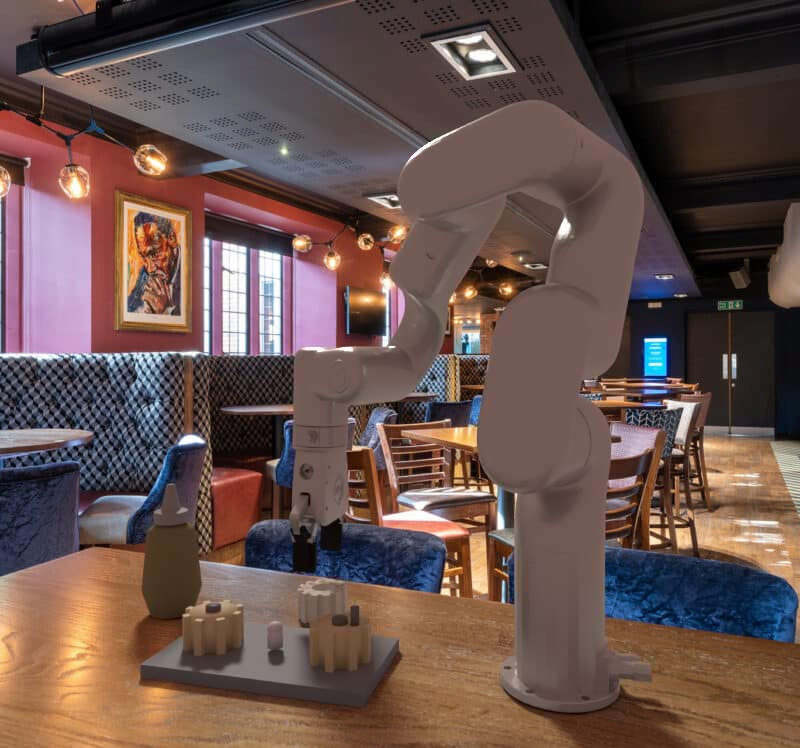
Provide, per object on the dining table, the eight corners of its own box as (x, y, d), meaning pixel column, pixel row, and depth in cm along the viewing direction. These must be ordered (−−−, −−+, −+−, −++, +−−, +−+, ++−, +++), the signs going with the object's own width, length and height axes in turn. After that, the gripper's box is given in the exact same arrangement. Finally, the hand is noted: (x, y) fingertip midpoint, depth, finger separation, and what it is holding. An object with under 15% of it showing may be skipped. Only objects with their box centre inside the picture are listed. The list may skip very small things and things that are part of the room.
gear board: (399, 650, 82) (398, 588, 81) (362, 708, 68) (362, 634, 68) (207, 629, 88) (207, 572, 88) (140, 677, 75) (139, 610, 75)
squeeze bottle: (183, 625, 90) (182, 491, 89) (129, 621, 91) (127, 489, 91) (212, 604, 97) (211, 480, 97) (161, 600, 99) (160, 478, 99)
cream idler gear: (354, 609, 95) (354, 581, 95) (337, 627, 89) (337, 597, 88) (309, 605, 97) (309, 577, 97) (290, 622, 90) (289, 593, 90)
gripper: (322, 447, 83) (320, 584, 84) (366, 431, 100) (363, 545, 100) (267, 444, 85) (265, 577, 86) (318, 428, 102) (316, 541, 102)
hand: (318, 560), depth 93 cm, fingers open, 9 cm apart
